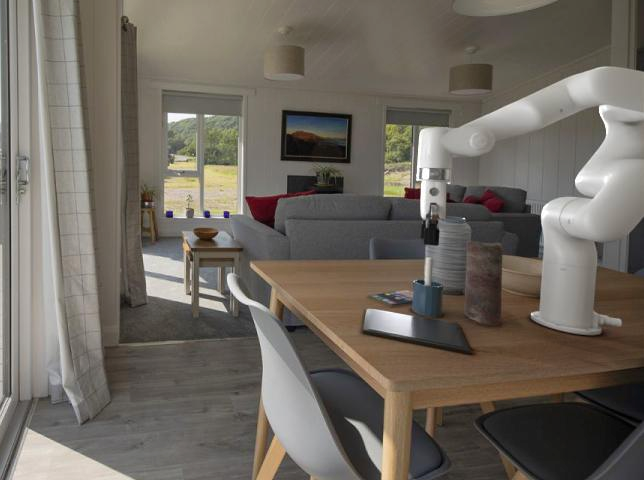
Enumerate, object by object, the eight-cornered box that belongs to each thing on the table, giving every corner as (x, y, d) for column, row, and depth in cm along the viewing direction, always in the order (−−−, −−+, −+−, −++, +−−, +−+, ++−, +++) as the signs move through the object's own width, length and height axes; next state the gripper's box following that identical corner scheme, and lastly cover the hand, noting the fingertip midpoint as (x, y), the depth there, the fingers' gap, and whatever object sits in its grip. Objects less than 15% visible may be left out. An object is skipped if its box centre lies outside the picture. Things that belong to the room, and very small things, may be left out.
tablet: (457, 326, 93) (458, 323, 93) (470, 354, 79) (470, 350, 79) (366, 311, 102) (366, 307, 102) (363, 333, 88) (363, 329, 88)
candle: (456, 316, 100) (460, 239, 99) (474, 313, 103) (479, 237, 102) (488, 328, 93) (494, 245, 92) (507, 324, 96) (512, 243, 95)
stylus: (429, 310, 102) (432, 257, 102) (430, 312, 101) (433, 259, 100) (422, 309, 103) (425, 257, 102) (423, 311, 102) (426, 258, 101)
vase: (430, 282, 131) (433, 214, 130) (471, 291, 122) (476, 218, 121) (418, 289, 123) (421, 216, 122) (461, 298, 114) (466, 220, 113)
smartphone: (368, 297, 113) (368, 293, 113) (406, 292, 119) (406, 288, 119) (391, 307, 106) (391, 302, 106) (431, 301, 111) (431, 297, 111)
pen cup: (439, 311, 103) (441, 281, 103) (442, 319, 97) (444, 288, 97) (411, 306, 106) (412, 277, 106) (412, 314, 100) (414, 284, 100)
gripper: (456, 176, 91) (451, 249, 92) (446, 176, 106) (441, 238, 107) (419, 175, 94) (414, 245, 95) (414, 175, 110) (410, 235, 111)
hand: (429, 241), depth 101 cm, fingers open, 9 cm apart
